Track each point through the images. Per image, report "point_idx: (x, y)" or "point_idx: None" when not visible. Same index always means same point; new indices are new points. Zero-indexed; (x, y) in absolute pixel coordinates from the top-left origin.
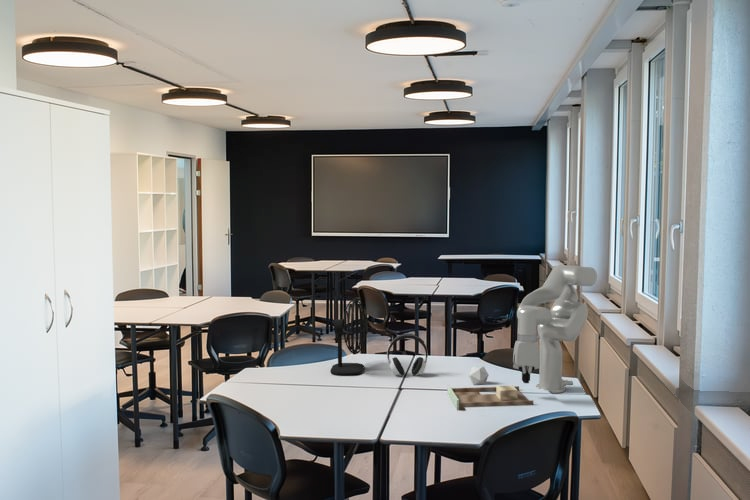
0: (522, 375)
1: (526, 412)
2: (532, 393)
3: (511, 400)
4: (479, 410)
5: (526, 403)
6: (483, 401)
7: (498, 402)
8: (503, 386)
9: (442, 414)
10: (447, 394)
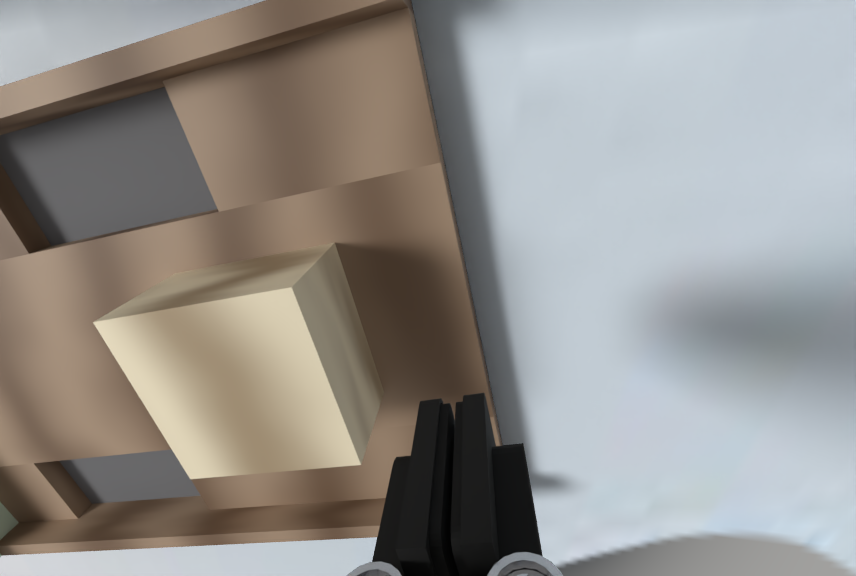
0: (390, 545)
1: None
2: (596, 3)
3: None
4: None
5: None
6: (126, 440)
7: (241, 541)
8: (182, 340)
9: (4, 565)
10: None
